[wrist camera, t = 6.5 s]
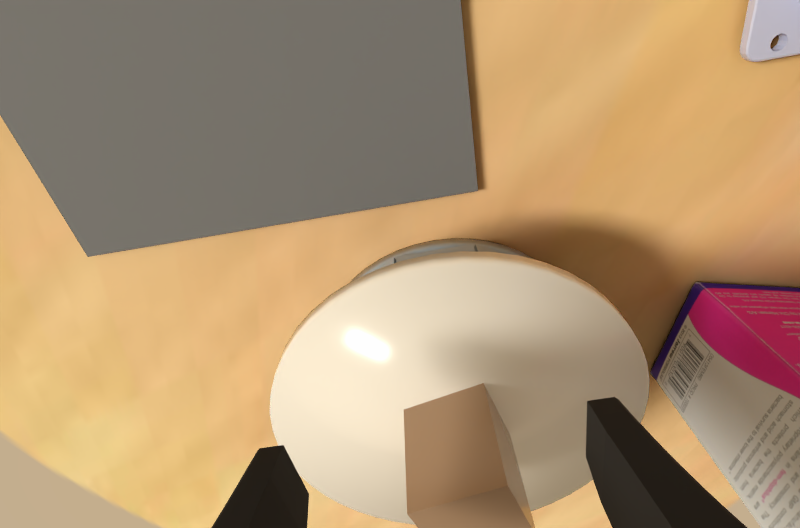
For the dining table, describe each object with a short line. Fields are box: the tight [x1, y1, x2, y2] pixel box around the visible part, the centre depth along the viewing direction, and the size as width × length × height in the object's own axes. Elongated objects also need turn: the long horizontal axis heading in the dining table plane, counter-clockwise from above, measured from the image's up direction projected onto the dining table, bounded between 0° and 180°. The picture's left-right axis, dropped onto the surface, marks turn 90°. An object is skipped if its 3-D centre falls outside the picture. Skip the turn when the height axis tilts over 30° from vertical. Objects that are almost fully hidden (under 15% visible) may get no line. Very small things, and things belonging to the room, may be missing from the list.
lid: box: [270, 251, 650, 528], centre depth 16 cm, size 14×14×5 cm
